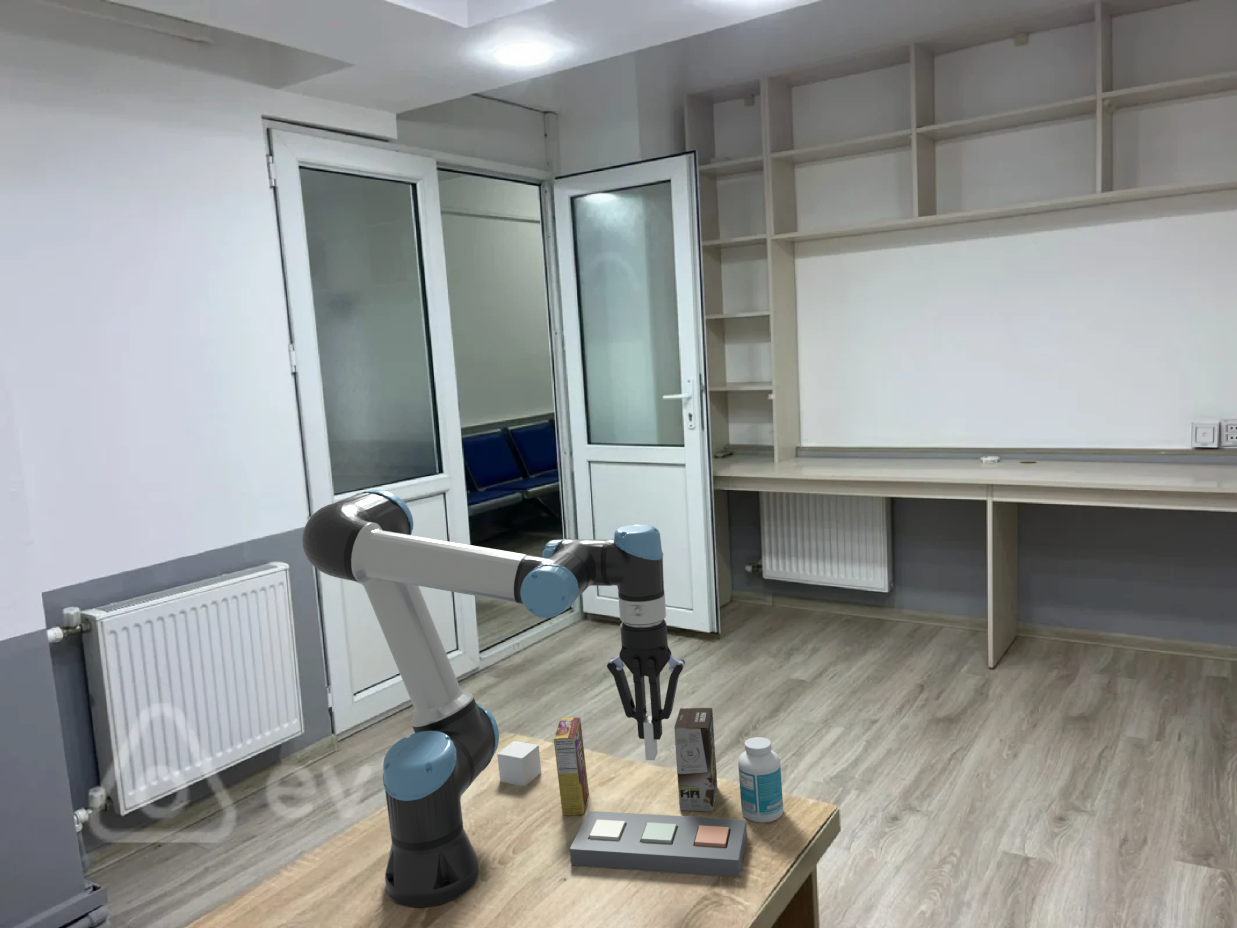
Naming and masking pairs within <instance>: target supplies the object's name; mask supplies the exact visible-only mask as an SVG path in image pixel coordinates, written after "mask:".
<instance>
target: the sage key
mask: <svg viewBox="0 0 1237 928" xmlns="http://www.w3.org/2000/svg"><path fill="white" fill-rule="evenodd" d="M676 832H677V829H676V824H666V823H649V822H647V825H646V828H645V830H644V833H643V836H642V838H641V840H642V843H658V844H673V841H674V838H675V835H676Z"/></svg>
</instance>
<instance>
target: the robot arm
mask: <svg viewBox="0 0 1237 928" xmlns="http://www.w3.org/2000/svg"><path fill="white" fill-rule="evenodd" d="M413 530H414V519H413V514H412V512H411V510H410V508H409V506H408V505H407V504H406V502H405V501H404V500H403V499H401V497H399V496H398V495H396V494H394V493H392V492H389V491H387V490H384V489H371V490H367V491H366V490H365V491H361V492H357V493H355V494H354V495H351V496H349V497H346V498H343V499H341V500H339V501H335V502H333V503H330V504H328V505H324V506H323V507H321V508H319V509H318V510H316V511H315V512H313V514H312V515H311V516H310V517H309V519H308V521H307V522H306V524H305V526H304V529H303V532H302V539H301V540H302V548H303V552H304V554H305V556H306V558H307V560H308V561H309V562H310V564H311V565H312V566H313V567H314V568H315V569H317V570H318V571H320V572H321V573H323V574H325V575H327V576H330V577H334V578H338V579H343V580H347V581H352V582H355V583H358V584H360V585H362V586H363V588H364V590H365V592H366V594H367V598H368V599H369V602H370V605H371V606H372V610H373V611H374V614H375V617H376V620H377V621H378V623H379V626H380V628H381V631H382V633H383V636H384V638H385V640H386V643H387V645H388V648H389V651H390V653H391V655H392V657H393V661H394V662H395V665H396V667H397V670H398V672H399V674H400V676H401V679H402V682H403V684H404V687H405V689H406V691H407V693H408V696H409V699H410V701H411V704H412V706H413V708H414V713H413V715H412V718H411V721H410V724H411V727H412V730H413V732H414V733H411V734H410V735H409V737H406V736H405V737H403V738H401V739H399V740H397V741H396V742H395V743H393V745H391V747H390V748H389V749H388V750H387V752H386V753H385V755H384V758H383V762H382V763H383V765H382V769H383V771H382V782H383V787H384V792H385V800H386V808H387V815H388V823H389V830H390V831H389V832H390V839H391V846H390V850H389V855H388V860H387V865H386V869H385V874H384V883H385V887H386V888H385V891H386V894H387V895H388V897H389V898H390V900H392V901H394V902H395V903H397V904H399V905H401V906H406V907H411V908H427V907H432V906H438V905H441V904H445V903H448V902H450V901H452V900H454V899H456V898H458V897H460V896H462V895H463V894H465V893H467V892H468V890H470V889H471V888H472V886H473V885H475V883H476V881H477V879H478V877H479V874H480V870H479V869H480V867H479V860H478V859H479V858H478V855H477V853H476V851H475V849H474V847H473V845H472V843H471V841H470V839H469V836H468V834H467V833H466V830H465V829H464V822H463V812H462V803H461V798H462V795H464V793H465V792H466V791H467V790H468V788H469V787H470V786H471V785H472V784H473V783H474V782H475V780H476V779H477V777H479V775H480V774H481V773H482V772H483V771H485V770H486V769H487V768H488V766H489V765H490V763H491V761H492V759H493V757H494V756H495V754H496V752H497V749H498V748H499V747H498V746H499V741H500V733H499V730H500V729H499V725H498V723H497V721H496V719H495V717H494V716H493V714H492V712H490V710H489V709H488V708H486V707H485V708H484V707H483V705H482V704H480V703H478V702H476V700H475V697H474V695H473V694H472V693H470V692H468V691H465V690H463V689H462V688H461V687H460V686H461V685H460V684H459V681H458V679H457V677H456V674H455V672H454V670H453V667H452V664H451V662H450V659H449V657H448V655H447V653H446V650H445V648H444V645H443V643H442V640H441V637H440V635H439V633H438V630H437V628H436V625H435V623H434V621H433V618H432V616H431V613H430V611H429V608H428V606H427V602H426V601H425V599H424V595H423V593H422V591H421V589H420V587H424V588H429V589H434V590H441V591H446V592H452V593H458V594H464V595H469V596H473V597H481V598H486V599H492V600H497V601H501V602H507V603H514V604H519V605H523V606H524V607H525V609H526V610H527V611H529V612H530V613H531V614H533V615H534V616H535V617H538V618H543V619H549V618H551V619H552V618H554V617H556V616H559V615H560V614H562V613H563V612H565V611H566V610H568V609H569V608H570V607H571V606H572V605H574V603H575V602H576V600H577V599H578V598H579V597H580V596H581V595H582V594H583V593H584V592H585V591H586V590H587V589H588V588H589V587H590V586H591V587H595V586H596V587H597V586H600V587H601V586H602V587H603V586H605V587H606V586H607V587H609V586H610V587H612V586H616V587H617V593H618V609H619V620H620V621H621V623H620V625H619V626H620V640H621V649H620V651H619V655H617V656H616V657H612V658H610V660H609V661H608V663H607V664H606V668H607V670H608V671H609V673H610V674H611V675H612V676H613V679H614V682H615V685H616V688H617V692H618V695H619V698H620V701H621V705H622V708H623V711H624V714H625V717H627V718H629V719H631V718H633V719H635V720H636V722H637V737H638V739H639V740H644V741H643V742H644V754H645V760H646V761H655V760H656V758H657V755H658V741H660V740H661V737H662V735H663V720H669V718H670V717H671V714H672V712H673V709H674V703H675V697H676V693H677V688H678V683H679V677H680V674H681V673H682V672H683V670H684V667H685V665H686V661H685V660H684V659H683V658H681V659H678V658H677V657H675V656H673V655H672V651H671V649H670V647H669V645H668V644H669V641H668V628H667V621H666V620H665V618H666V616H667V611H666V608H667V607H666V593H665V585H664V583H665V580H664V579H665V578H664V553H663V550H662V547H663V546H662V540H661V533H660V531H659V529H658V528H657V527H655V526H653V525H650V524H631V525H629V524H628V525H624V526H621V527H619V528H616V530H615V531H614V533H613V536H614V537H613V538H611V539H582V538H581V539H575V538H563V539H553V540H549V541H548V542H547V543H546V544H545V546H544V550H542V554H541V556H536V555H529V554H525V553H518V552H513V551H509V550H508V551H507V550H501V549H495V548H490V547H484V546H478V545H477V546H476V545H471V544H465V543H458V542H453V541H446V540H442V539H441V540H440V539H435V538H429V537H423V536H417V535H412V532H413ZM667 664H668V665H669V666H668V670H669V671H670V672H671V673H670V676H669V677H668V678H669V679H668V684H667V689H666V694H665V698H664V699H665V701H664V705H663V708H662V695H661V683H660V682H661V680H660V679H661V677H660V676H661V672H662V671H663V670H664V668H665V667H666V666H667ZM624 665H625V666H626V667H627V670H629V672H631V674H632V681H633V684H634V685H633V687H634V698H633V695H632V691H631V689H630V686H629V682H628V679H627V675H626V672H625V670H624ZM645 677H647V678H648V679H647V680H648V684H649V696H650V697H649V698H650V711H651V715H647V713H648V710H647V699H646V698H647V697H646V684H645V683H646V680H645ZM634 699H635V702H634Z"/></svg>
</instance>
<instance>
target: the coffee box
mask: <svg viewBox="0 0 1237 928" xmlns="http://www.w3.org/2000/svg"><path fill="white" fill-rule="evenodd" d="M713 715H714V712H713V708H712V707H691V708H688V707H687V708H683V707H681V708H679V711H678V715H677V718H676V720H675V725H674V728H673V729H674V739H675V740H674V743H675V755H676V756H675V757H676V758H675V759H676V772H677V773H676V774H677V787H678V788H677V789H678V799H679V800H678V804H679V810H680V811H690V812H691V811H692V812H713V811H714V808H715V803H716V796H717V793H718V774H717V758H716V757H717V756H716V745H715V743H716V742H715V731H714V729H715V728H714V727H715V726H714V716H713Z"/></svg>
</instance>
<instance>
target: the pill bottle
mask: <svg viewBox="0 0 1237 928" xmlns="http://www.w3.org/2000/svg"><path fill="white" fill-rule="evenodd" d="M737 762H738V779H739V792H740V793H739V794H740V795H739V796H740V804H741V805H740V806H741V813H742V815H743V816H744V817H745V818H746V819H747V820H749V821H750V822H754V823H762V824H764V823H771V822H774V821H776V820H778V819H780V818H781V817H782V816H783V812H784V799H783V798H784V797H783V787H782V785H783V784H782V783H783V782H782V772H781V771H782V768H781V766H782V765H781V759H780V756H779V755H778V754H777V753H776V752H775V751H774V750H773V746H772V741H771V740H770V739H768V738H767V737H766V738H765V737H761V736H760V737H759V736H758V737H757V736H755V737H750V738H748V739H746V740H745V741H744V751H743V752H742V753H741V754H740V755H739V757H738V760H737Z"/></svg>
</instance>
